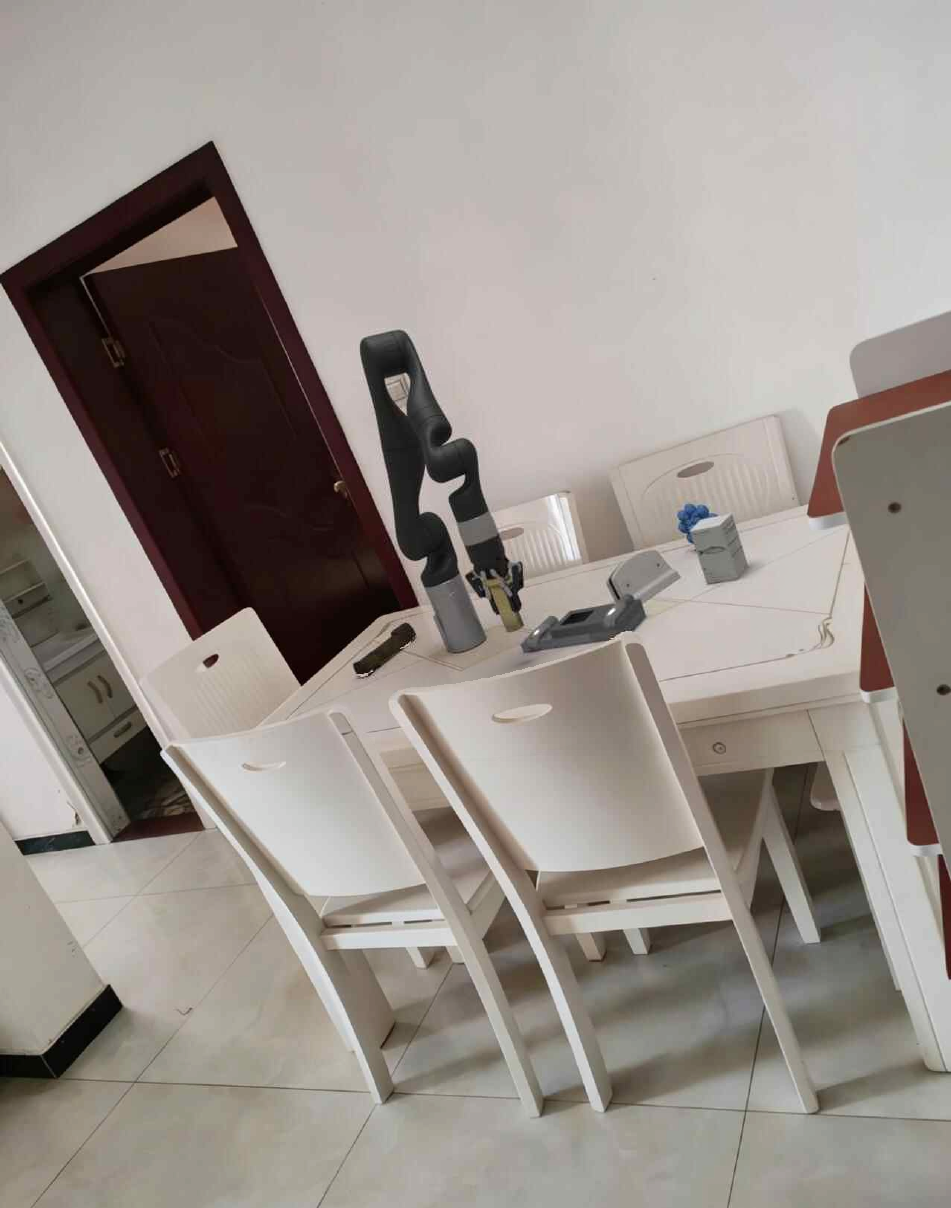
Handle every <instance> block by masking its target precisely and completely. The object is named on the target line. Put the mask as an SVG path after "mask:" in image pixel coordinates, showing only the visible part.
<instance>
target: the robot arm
mask: <svg viewBox="0 0 951 1208" xmlns="http://www.w3.org/2000/svg"><path fill="white" fill-rule="evenodd" d="M359 355H360V362H361V365H362V368H363V373H364V376H365V380H366V383H367V386H368V391H369V395H370V397H371V402H372V405H373V409H374V414H375V419H376V424H377V425H376V426H377V430H378V435H379V440H380V441H379V442H380V447H381V452H382V456H383V457H382V458H383V461H384V466H385V471H386V473H387V479H388V485H389V489H390V490H389V491H390V495H391V501H392V510H393V512H392V513H393V520H394V529H395V530H394V531H395V537H396V541H397V544H398V545H397V546H398V548H399V550H400V552H401V554H402V555H403V556H404V557H405V558H406V559H408V560H410V561H412V562H418V561H419V562H420V561H421V560H423V559H425V558H426V563H425V566H424V568H423V570H422V572H421V573H420V577H419V578H420V581H421V583H422V586H423V588H424V591H425V593H426V595H427V598H428V600H429V602H430V605H431V607H432V609H433V612H434V614H433V616H432V619H433V621H434V623H435V626H436V628H437V630H438V632H439V635H440V637H441V640H442V641H443V644H444V646H445V649H446V651H447V652H451V653H454V652H456V653H460V652H464V651H465V652H466V651H468V650H470V649H473V648H475V647H477V646H479V645H480V644H482V643H483V642H484V641H485V640H486V639H487V635H486V633H485V630H484V628H483V626H482V623H481V621H480V620H481V619H480V618H479V615H478V613H477V611H476V607H475V605H474V603H473V601H472V598H471V595H470V593H469V591H468V588H467V586H466V584H465V582H464V579H463V577H462V574H461V572H460V569H459V565H458V564H459V560H458V556H457V552H456V550H455V549H456V548H455V547H454V545H453V541H452V538H451V536H450V535H451V534H450V533H449V530H448V528H447V526H446V524H445V522H444V520H443V519H442V518H441V517H440V516H439V515H438V514H437V513H435V512H433V511H425V512H422V513H421V511H420V494H421V489H422V485H423V481H424V476H425V470H426V471H427V475H428V476H429V478H430V479H431V480H432V481H433V482H435V483H438V484H445V483H448V482H449V481H453V480H455V479H457V478H460V477H462V476H464V480H463V483H462V485H461V486H459V487H458V488H457V489H455V490H454V491H452V492H451V493H450V494H449V495H448V498H447V499H448V505H449V507H450V509H451V512H452V514H453V518H454V520H455V522H456V525H457V529H458V533H459V536H460V539H461V542H462V544H463V546H464V549H465V551H466V553H467V556H468V557H467V558H468V560H469V562H470V563H471V564H472V565H473V568H472V570H470V571H469V572H467V573H466V574H465V575H464V578H465V579H466V581H467V582H468V584H469V585H470V587H472V589H473V591H474V593H475V594H476V595H477V596H478V598H480V599H482V598H485V599H486V600H488V602H489V604H490V607H491V610H492V612H493V613H494V614H495V615H496V616H500V614H499V611H498V609H497V606H496V604H495V601H494V598H493V596H492V593H491V591H490V588H489V587H486V586H485V583H484V581H485V580H488V579H492V578H495V579H497V578H499V580H500V582H501V584H499V585H500V587H501V588H504V590H505V591H506V593H507V595H508V596H509V597H508V599H509V602H510V604H511V607H512V609H513V612H514V613H516V612H518V611H519V612H520V611H521V610H522V607H523V604H522V601H521V599H520V596H519V592H520V591H521V590H522V589H523V588H524V587H525V581H524V566H523V562H522V561H519V560H518V561H517V562H514V561H510V560H509V558H508V557H507V556H506V548H505V546H504V543H503V541H502V537H501V535H500V532H499V530H498V527H497V525H496V522H495V520H494V518H493V515H492V514H491V512H490V509H489V507H488V504H487V501H486V499H485V497H484V493H483V490H482V485H481V479H480V478H481V477H480V469H479V458H478V452H477V448H476V447H475V445H474V443H473V442H472V441H470V440H469V439H468V438H466V437H459V438H456V439H454V440H452V441H450V442H448V441H449V440H450V438H451V437H452V434H453V428H452V425H451V423H450V421H449V420H448V418H447V416H446V414H445V412H444V411H443V409H442V407H441V406H440V404H439V402H438V401H437V399H436V396H435V394H434V392H433V390H432V387H431V385H430V381H429V379H428V377H427V375H426V371H425V368H424V367H423V364H422V362H421V360H420V356H419V353H418V351H417V349H416V347H415V345H414V343H413V341H412V339H411V337H410V335H408V333H407V332H406V331H405V330H403V329H393V330H389V331H386V332H381V333H377V334H372V335H369V336H365V337H363V338H362V339H361V340H360V343H359ZM403 374H406V375H407V376H408V378H409V390H408V395H407V400H406V404H405V405H406V406H405V407H406V413H405V412H404V411H403V410H402V409H401V408H400V407H399V406H398V404H397V403H396V402H395V401H394V399H393V398H392V396H391V395H390V392H389V390H388V388H387V384H386V379H388V378H391V377H397V376H399V375H403ZM507 575H508V576H509V579H508V580H507V581H504V580H503V578H505V577H506V576H507ZM502 577H503V578H502ZM509 586H510V587H509Z"/></svg>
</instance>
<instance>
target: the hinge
mask: <svg viewBox="0 0 951 1208" xmlns="http://www.w3.org/2000/svg"><path fill="white" fill-rule="evenodd" d="M681 578H682V576H681V575H680V574H679V572H678V571H677V570H676V569H674V568H673V569H672V567H671V566H670V565H669V564H668V562H667V561H666V560H665V559H664V557H663V556H662V555H661V554H660V552H659V551H658V550H656V549H650V550H646V551H642V552H639V553H636V554H634V555H632V556H631V557H628V558H627V559H625V560H624V561H622V562H621V563H620V564H619V565H617V566H616V568H614V570H613V571H612V572H611V573H610V575H609V577H607V579H606V581H605V584H606V587H607V588H608V590H609V592H610V595H611V596H612V598H613V601H614V603H616V602H617V601H618V600H619V599H620V598H621V597H622V596H623V595H624V594H631V595H632V596H633V597H634V598H635V600H637V599H640V600H641V603H642V605H643V604H644V603H645V602H647V601H649V600H650V599H652V598H653V597H655V596H656V595H657V594H659V593H661V592H662V591H663V590H664V589H666V588H668V587H669V586H670V585H672V584H673V583H675V582H676V581H678V580H680V579H681Z"/></svg>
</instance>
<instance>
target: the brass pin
mask: <svg viewBox="0 0 951 1208" xmlns="http://www.w3.org/2000/svg"><path fill="white" fill-rule="evenodd" d="M502 578H503V577H502ZM508 579H509V576H508V575H507V576H506V577H505V578H503V580H504V581H507V580H508ZM484 583H485V586H486V587H489V588H490V591H491V593H492V596H493V598H494V601H495V604H496V606H497V609H498V611H499V614H500V615H499V616H500V619H501V621H502V625H503V627H504V629H505V630H504V631H506V633H514V632H516V631H519V630H521V629H523V628H524V626H525V624H524V621H523V618H522V616H521V614H520V611H518V612H516V613H514V612H513V609H512V607H511V604H510V602H509V599H508V597H509V596H508V595H507V593H506V591H505V590H504V588H501V587H500V585H499V584H501V582H500V580H499V578H497V579H495V578H492V579H488V580H485V581H484ZM509 587H510V586H509Z"/></svg>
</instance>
